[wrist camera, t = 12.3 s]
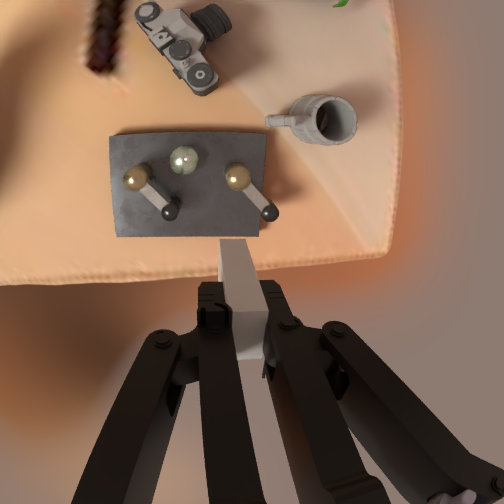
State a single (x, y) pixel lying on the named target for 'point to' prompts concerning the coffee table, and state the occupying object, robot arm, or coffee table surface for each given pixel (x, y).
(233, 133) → the control panel
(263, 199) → the knob right
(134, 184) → the knob left
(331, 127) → the mug
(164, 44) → the camera
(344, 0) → the snack cup
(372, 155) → the coffee table surface
